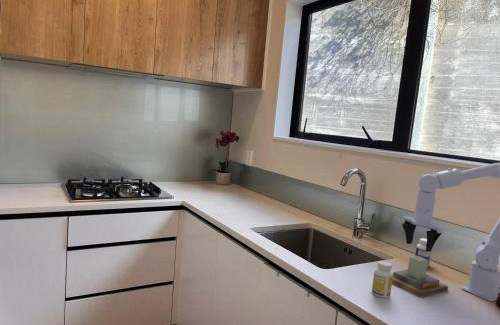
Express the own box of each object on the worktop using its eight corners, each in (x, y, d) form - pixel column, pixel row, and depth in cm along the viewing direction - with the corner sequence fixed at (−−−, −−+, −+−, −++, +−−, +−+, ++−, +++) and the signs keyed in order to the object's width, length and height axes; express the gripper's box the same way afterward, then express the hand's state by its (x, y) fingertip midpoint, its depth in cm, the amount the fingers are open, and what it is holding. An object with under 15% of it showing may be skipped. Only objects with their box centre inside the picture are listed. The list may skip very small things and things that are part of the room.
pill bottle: (416, 260, 151) (420, 236, 150) (430, 264, 147) (434, 240, 146) (412, 263, 147) (416, 239, 146) (427, 268, 143) (431, 243, 142)
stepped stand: (447, 290, 124) (448, 281, 123) (420, 297, 116) (422, 287, 116) (410, 273, 136) (411, 265, 135) (383, 278, 128) (384, 270, 128)
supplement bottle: (386, 291, 119) (390, 260, 117) (393, 299, 113) (397, 267, 112) (368, 289, 118) (373, 259, 117) (375, 297, 113) (379, 266, 112)
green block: (425, 277, 125) (428, 259, 124) (418, 279, 123) (420, 261, 122) (414, 272, 128) (417, 255, 128) (407, 274, 126) (409, 256, 126)
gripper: (399, 204, 135) (393, 241, 137) (437, 215, 123) (430, 255, 125) (411, 203, 139) (406, 239, 141) (449, 214, 127) (443, 253, 128)
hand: (418, 247), depth 133 cm, fingers open, 7 cm apart
